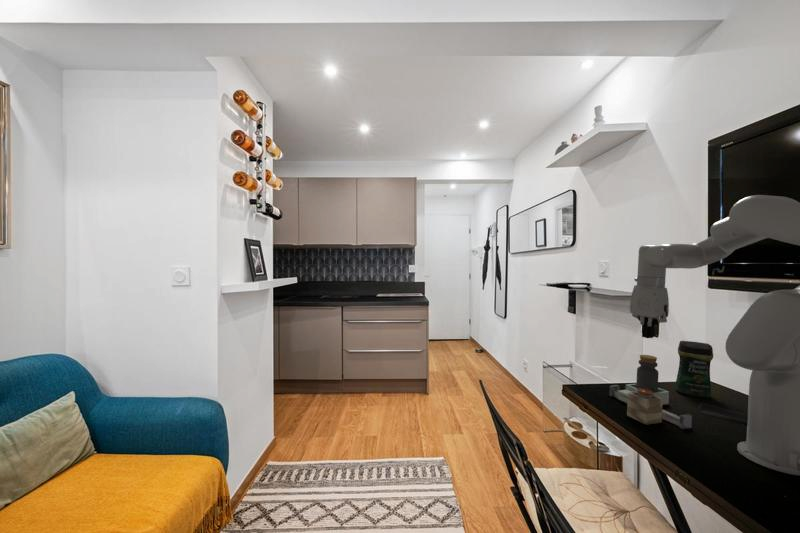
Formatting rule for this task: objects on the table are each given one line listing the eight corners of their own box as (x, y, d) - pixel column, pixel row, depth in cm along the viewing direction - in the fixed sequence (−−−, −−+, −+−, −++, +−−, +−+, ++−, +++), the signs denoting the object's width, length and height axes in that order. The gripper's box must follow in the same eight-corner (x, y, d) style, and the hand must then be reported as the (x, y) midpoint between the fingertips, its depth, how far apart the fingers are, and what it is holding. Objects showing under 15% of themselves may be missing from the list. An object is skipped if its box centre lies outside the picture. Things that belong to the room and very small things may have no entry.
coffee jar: (678, 394, 122) (680, 342, 121) (673, 387, 128) (675, 338, 128) (714, 400, 117) (716, 346, 116) (707, 392, 124) (709, 341, 123)
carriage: (668, 403, 113) (669, 391, 112) (637, 407, 109) (637, 395, 109) (644, 393, 121) (644, 382, 120) (614, 397, 117) (614, 385, 117)
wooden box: (661, 422, 100) (662, 398, 100) (645, 424, 98) (646, 400, 98) (642, 413, 106) (643, 390, 106) (626, 415, 104) (627, 392, 104)
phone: (767, 427, 97) (697, 409, 108) (767, 431, 97) (697, 412, 108) (766, 418, 102) (700, 402, 113) (766, 422, 102) (700, 405, 113)
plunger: (655, 409, 101) (656, 392, 101) (645, 410, 100) (646, 393, 100) (643, 404, 104) (643, 387, 104) (633, 405, 103) (634, 388, 103)
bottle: (650, 397, 118) (652, 354, 118) (661, 405, 112) (663, 359, 112) (632, 396, 119) (633, 353, 118) (642, 404, 113) (644, 358, 112)
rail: (691, 427, 97) (691, 415, 97) (683, 429, 96) (683, 416, 96) (616, 394, 120) (617, 384, 120) (609, 395, 119) (609, 385, 119)
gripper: (621, 280, 119) (618, 332, 120) (666, 284, 105) (662, 344, 106) (637, 280, 122) (634, 331, 123) (683, 284, 108) (679, 342, 108)
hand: (647, 337), depth 114 cm, fingers closed
